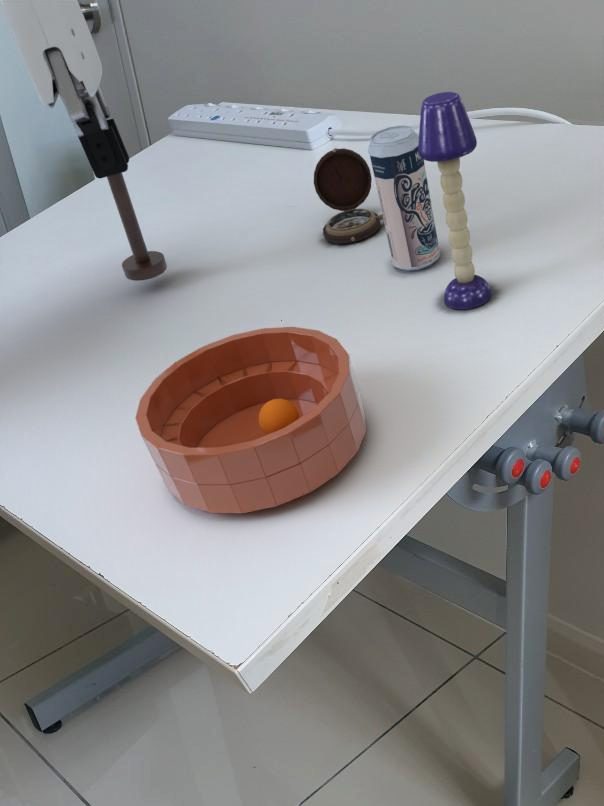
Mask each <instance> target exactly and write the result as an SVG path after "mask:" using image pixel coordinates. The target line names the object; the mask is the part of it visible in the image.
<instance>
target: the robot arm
mask: <svg viewBox="0 0 604 806" xmlns="http://www.w3.org/2000/svg"><path fill="white" fill-rule="evenodd" d="M0 4H1V7H2V10H3V12H4V15H5V18H6V20H7V23H8V26H9V29H10V31H11V33H12V35H13V38H14V40H15V43H16V45H17V48H18V50H19V53H20V56H21V58H22V60H23V63H24V65H25V67H26V70H27V73H28V75H29V77H30V80H31V82H32V84H33V87H34V89H35V91H36V94H37V97H38V99H39V101H40V104H41V105H43V106H44V107H45V108H47V109H49V110H50V109H53V108H54V107H55V105H56V102H57V100H58V97H60V98H61V101H62V103H63V105H64V108H65V110H66V113H67V115H68V117H69V119H70V122H71V123H72V125H73V128H74V130H75V132H76V134H77V138H78V140H79V142H80V145H81V148H82V150H83V151H84V154H85V156H86V158H87V160H88V163H89V165H90V168H91V170H92V172H93V175H94V176H95V178H97V179H105V178H107V177H108V176H111V175H115V174H118V173H122V174H123V173H126V172H127V171H128V170H129V162H130V156H129V153H128V151H127V149H126V146H125V144H124V141H123V138H122V136H121V133H120V130H119V129H118V126H117V124H116V121H115V119H114V118H112V115H111V111H110V109H109V106H108V104H107V101H106V99H105V97H104V94H103V91H102V89H101V86H100V83H101V80H102V75H103V65H102V62H101V58H100V56H99V52H98V50H97V47H96V44H95V41H94V38H93V36H92V34H91V31H90V28H89V26H88V23H87V21H86V18H85V16H84V13H83V10H82V8H81V6H80V3H79V1H78V0H0ZM91 106H92V108H91Z"/></svg>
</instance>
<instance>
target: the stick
mask: <svg viewBox="0 0 604 806" xmlns="http://www.w3.org/2000/svg"><path fill="white" fill-rule="evenodd" d="M91 108H92V106H91ZM106 180H107V182H108V186H109V189H110V191H111V193H112V196H113V200H114V203H115V205H116V206H115V207H116V208H117V212H118V215H119V216H120V217H119V218H120V221H121V223H122V227H123V229H124V232H125V235H126V238H127V241H128V244H129V247H130V250H131V252H132V255H129V256H128V257H126V258H125V259H124V260H123V261H122V263H121V268H122V271H123V273H124V276H125V278H126V279H127V280H129V281H133V282H135V281H137V282H139V281H148V280H150V279H154V278H156V277H159V276H160V275H162V274H163V273H165V272H166V271H167V269H168V264H167V260H166V258H165V255H164V253H162V252H160V251H156V250H148V247H147V245H146V241H145V239H144V236H143V233H142V230H141V227H140V224H139V220H138V218H137V214H136V212H135V208H134V206H133V202H132V200H131V197H130V193H129V190H128V188H127V183H126V181H125V177H124V175H123V172H122V173H118V174H115V175H111V176H108V177H106Z"/></svg>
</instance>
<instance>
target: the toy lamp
mask: <svg viewBox="0 0 604 806" xmlns="http://www.w3.org/2000/svg"><path fill="white" fill-rule="evenodd" d="M419 120H420V121H419V130H418V136H419V144H418V152H419V156H420V157H421V158H422V159H423V160H424V161H427V162H431V163H437V168H438V170H439V172H440V179H439V181H440V188H441V189H442V191H443V195H442V196H443V197H442V202H443V203H442V204H443V207H444V209H445V210H446V212H445V222H446V223H445V224H446V225H447V228H448V229H449V230H448V240H449V241H448V242H449V243H450V245H451V259H452V262H453V263H454V269H453V272H454V276H455V277H454V278H453V279H452V280H450V281H449V283H448V284H447V286H446V288H445V290H444V296H443V301H444V304H445V306H446V307H448V308H450V309H453V310H470V309H475V308H478V307H479V306H482V305H484V304H485V303H488V301H489V300H490V299H491V297H492V295H493V292H492V289H491V286H490V284H489V282H488V281H487V279H485V278H483V277H482V276H480V275H478V274H475V273H476V269H475V265H474V263H473V261H472V260H473V249H472V246H471V244H470V241H471V233H470V232H471V231H470V230H469V228H468V226H467V225H468V213H467V211H466V209H465V203H466V199H465V193H464V191H463V190H462V188H463V176H462V173H461V172H460V167H461V159H460V158H462V157H465V156H468V155H470V154H471V153H473V152H474V151H475V149H476V148H477V145H478V141H477V136H476V134H475V130H474V129H473V126H472V123H471V120H470V117H469V115H468V113H467V109H466V106H465V105H464V102H463V100H462V98H461V96H460V95H459V94H458V92H454V91H443V92H437V93H434V94H431V95H428V96H427V97H425V98H424V99H422V102H421V106H420V119H419Z"/></svg>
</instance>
